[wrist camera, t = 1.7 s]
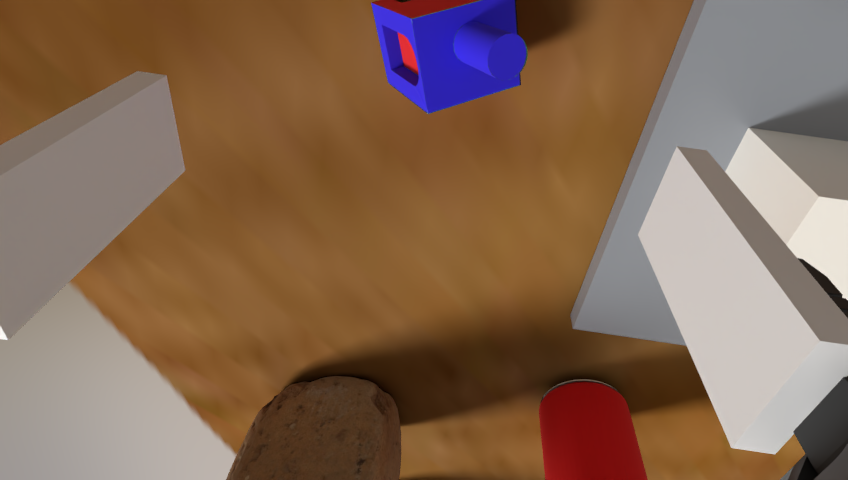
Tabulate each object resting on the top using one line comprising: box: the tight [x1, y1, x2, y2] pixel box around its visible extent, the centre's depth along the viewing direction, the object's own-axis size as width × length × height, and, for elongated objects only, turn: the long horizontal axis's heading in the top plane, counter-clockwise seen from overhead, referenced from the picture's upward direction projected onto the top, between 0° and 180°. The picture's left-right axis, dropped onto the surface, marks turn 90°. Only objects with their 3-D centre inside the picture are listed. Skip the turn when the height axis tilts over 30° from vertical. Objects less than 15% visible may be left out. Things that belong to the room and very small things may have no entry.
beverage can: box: [539, 379, 647, 480], centre depth 32 cm, size 6×6×12 cm
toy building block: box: [371, 0, 528, 114], centre depth 20 cm, size 4×4×8 cm
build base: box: [570, 0, 848, 346], centre depth 23 cm, size 20×16×7 cm
